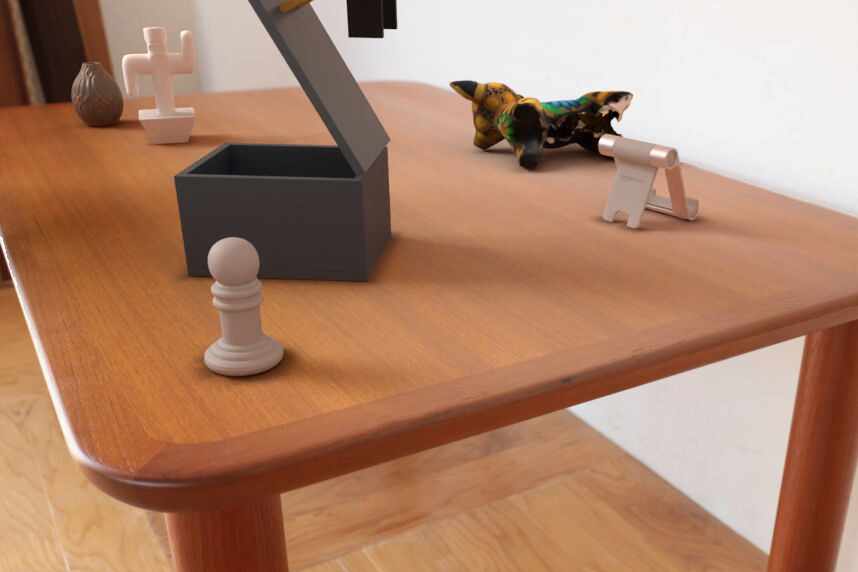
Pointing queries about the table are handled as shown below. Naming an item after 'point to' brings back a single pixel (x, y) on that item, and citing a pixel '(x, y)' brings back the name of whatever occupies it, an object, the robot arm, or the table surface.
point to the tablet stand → (644, 180)
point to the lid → (324, 79)
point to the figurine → (162, 85)
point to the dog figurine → (540, 119)
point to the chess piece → (239, 312)
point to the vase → (96, 96)
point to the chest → (287, 209)
